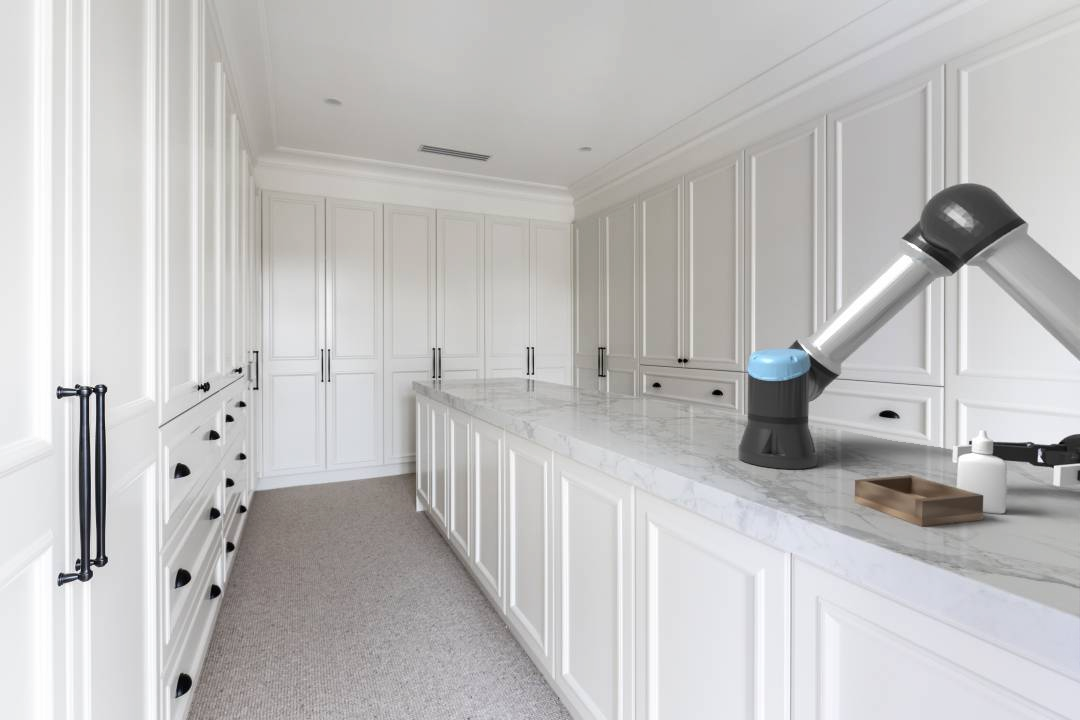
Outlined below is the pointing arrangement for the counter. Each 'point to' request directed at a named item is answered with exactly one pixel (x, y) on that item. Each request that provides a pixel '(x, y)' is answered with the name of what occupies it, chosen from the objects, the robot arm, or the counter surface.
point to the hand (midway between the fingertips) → (1001, 464)
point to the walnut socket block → (919, 500)
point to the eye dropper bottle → (984, 474)
